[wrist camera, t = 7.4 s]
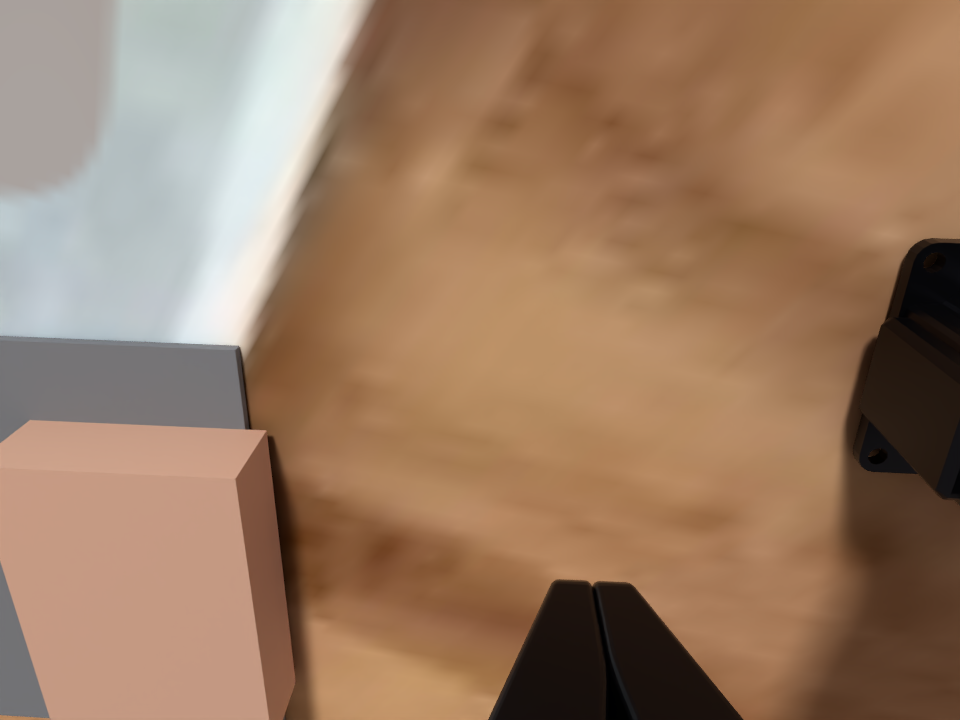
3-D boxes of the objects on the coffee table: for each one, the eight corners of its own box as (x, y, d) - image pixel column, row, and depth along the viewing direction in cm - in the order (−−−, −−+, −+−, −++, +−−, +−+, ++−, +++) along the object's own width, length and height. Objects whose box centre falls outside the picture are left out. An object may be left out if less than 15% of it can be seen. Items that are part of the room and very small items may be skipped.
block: (235, 478, 18) (-31, 466, 19) (273, 748, 22) (55, 734, 23) (266, 430, 21) (29, 419, 21) (295, 682, 25) (97, 671, 25)
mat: (239, 345, 20) (235, 350, 20) (286, 724, 26) (283, 732, 26) (-178, 328, 20) (-187, 332, 20) (-35, 705, 27) (-41, 712, 26)
